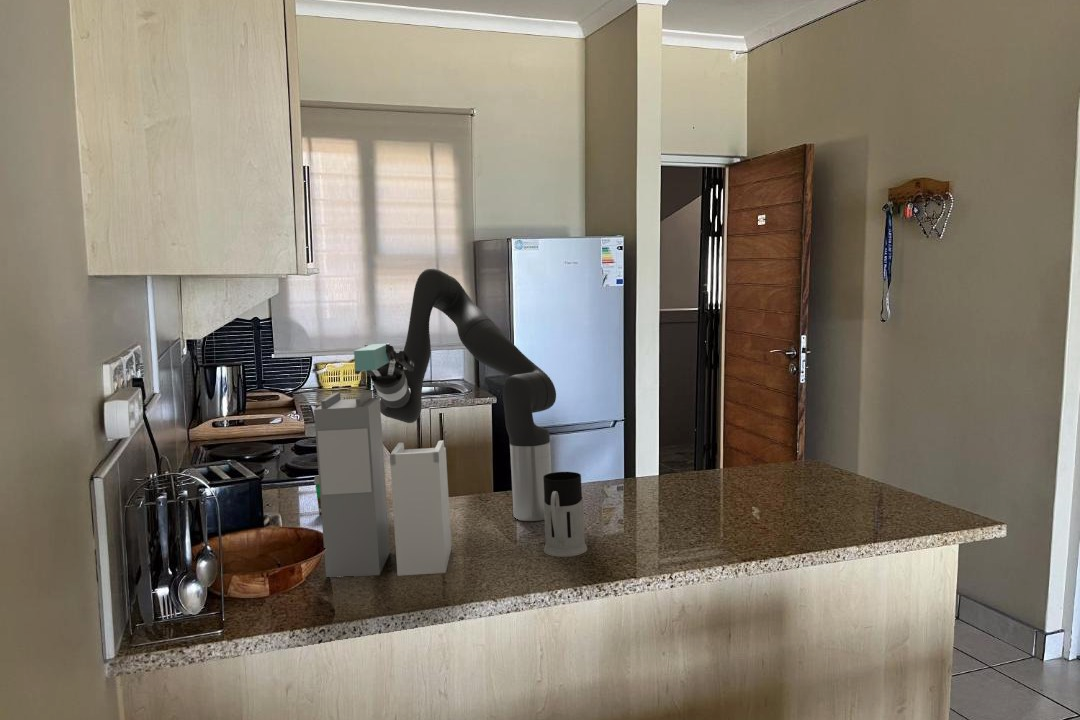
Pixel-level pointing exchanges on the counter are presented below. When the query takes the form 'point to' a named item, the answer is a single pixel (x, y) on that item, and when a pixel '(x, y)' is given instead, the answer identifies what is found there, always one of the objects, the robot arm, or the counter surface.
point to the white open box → (420, 509)
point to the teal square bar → (370, 357)
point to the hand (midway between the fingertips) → (376, 348)
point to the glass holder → (564, 514)
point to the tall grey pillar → (352, 485)
